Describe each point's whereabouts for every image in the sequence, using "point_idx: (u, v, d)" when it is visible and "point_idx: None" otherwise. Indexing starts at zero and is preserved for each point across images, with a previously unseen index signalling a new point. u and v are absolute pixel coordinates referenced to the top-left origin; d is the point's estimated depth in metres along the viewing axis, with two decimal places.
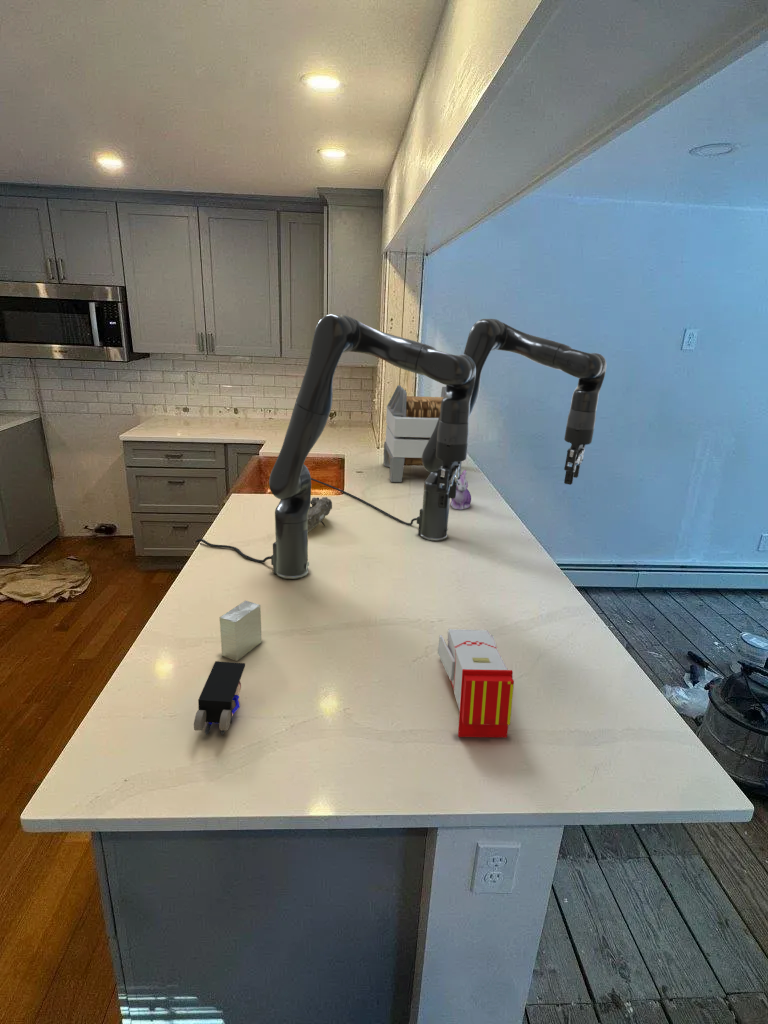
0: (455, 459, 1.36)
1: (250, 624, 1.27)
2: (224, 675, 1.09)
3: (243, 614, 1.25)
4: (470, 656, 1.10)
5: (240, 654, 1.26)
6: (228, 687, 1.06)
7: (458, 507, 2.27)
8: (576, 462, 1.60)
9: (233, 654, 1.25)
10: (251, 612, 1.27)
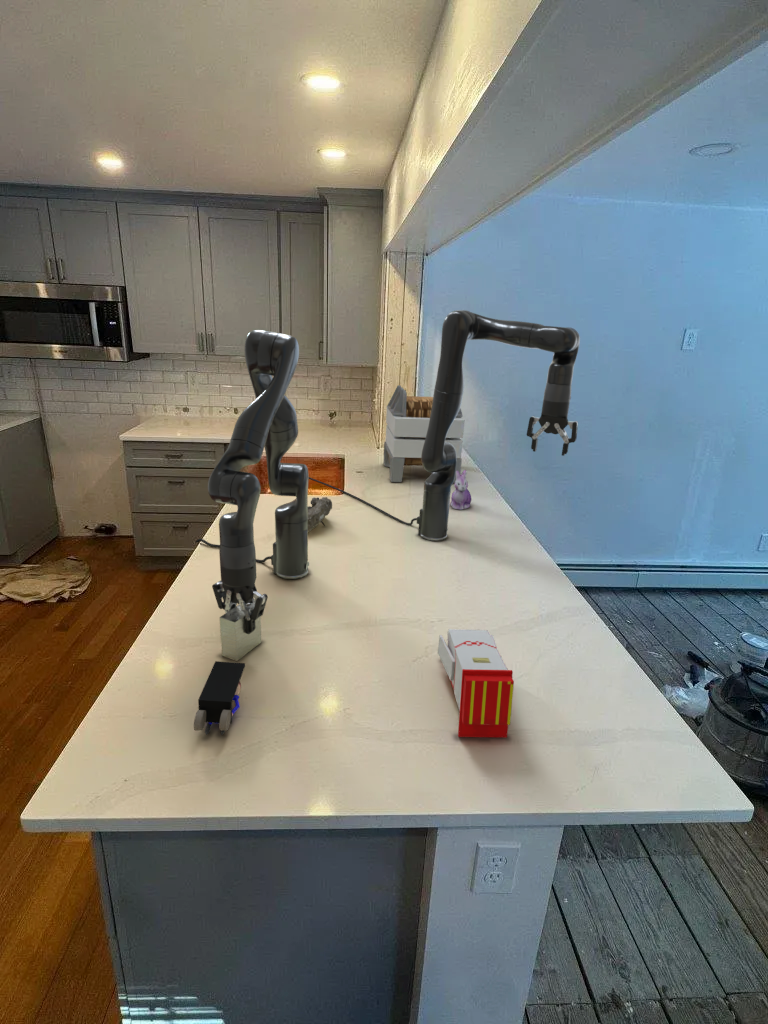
0: None
1: None
2: (224, 675, 1.09)
3: (243, 614, 1.25)
4: (470, 656, 1.10)
5: (240, 654, 1.26)
6: (228, 687, 1.06)
7: (458, 507, 2.27)
8: (565, 432, 1.68)
9: (233, 654, 1.25)
10: None
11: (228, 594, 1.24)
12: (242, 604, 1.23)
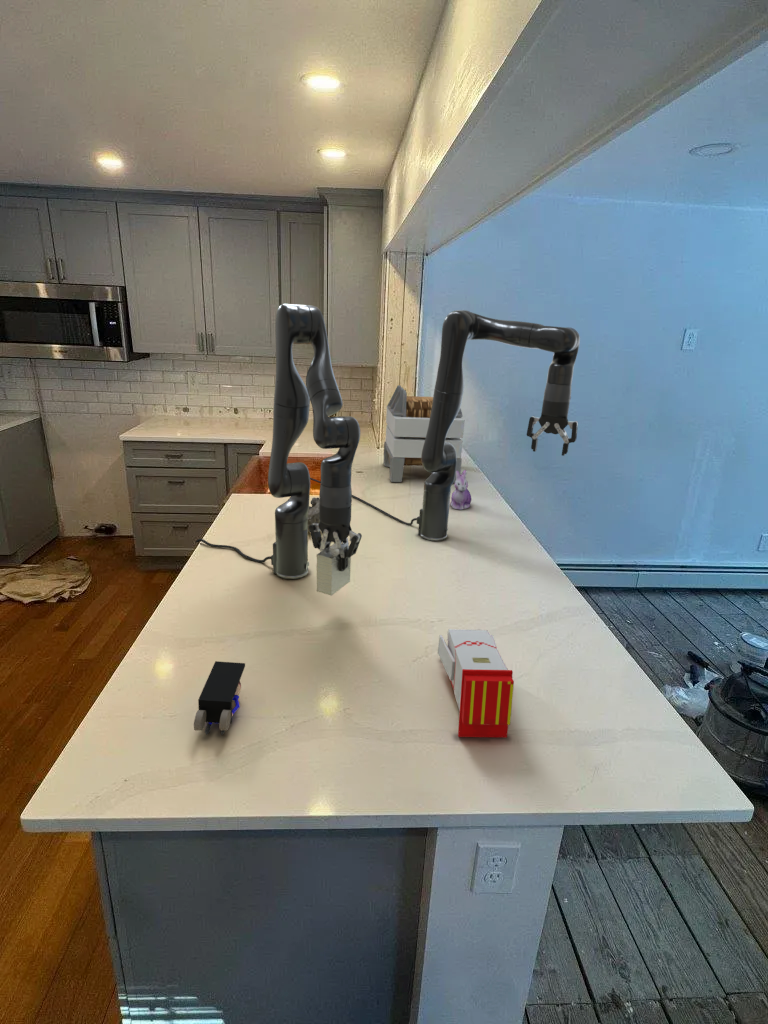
0: None
1: None
2: (224, 675, 1.09)
3: (337, 552, 1.36)
4: (470, 656, 1.10)
5: (334, 590, 1.36)
6: (228, 687, 1.06)
7: (458, 507, 2.27)
8: (565, 432, 1.68)
9: (328, 589, 1.36)
10: None
11: (325, 533, 1.34)
12: (338, 542, 1.34)
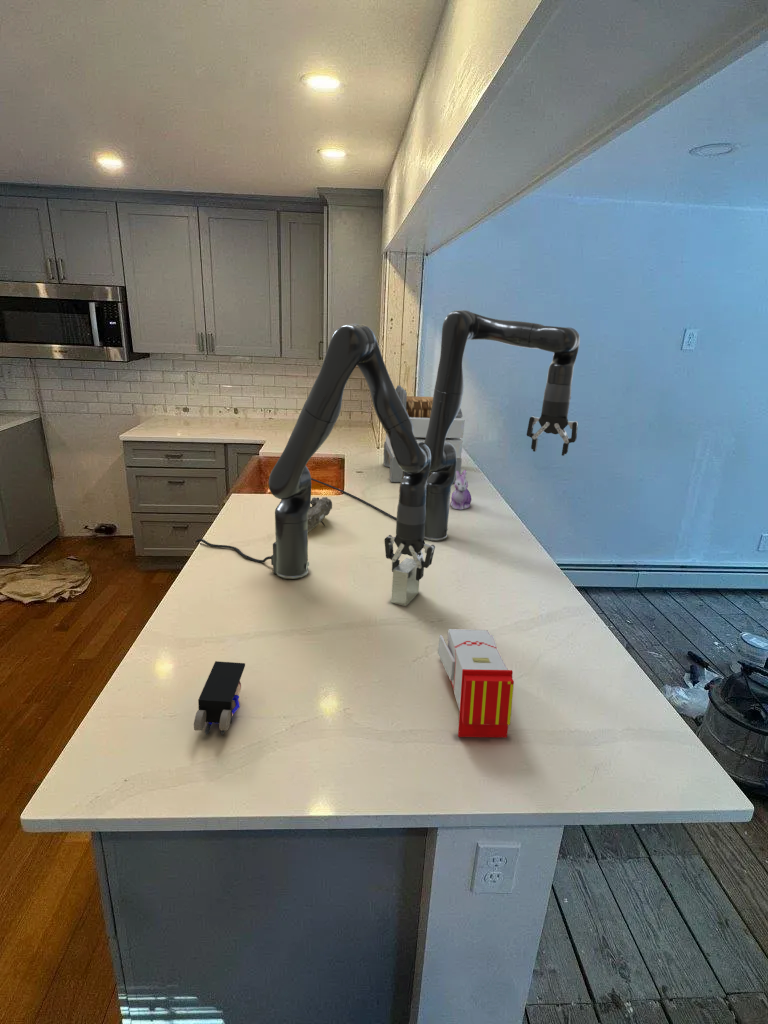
0: None
1: (414, 576, 1.54)
2: (224, 675, 1.09)
3: (411, 567, 1.51)
4: (470, 656, 1.10)
5: (407, 601, 1.52)
6: (228, 687, 1.06)
7: (458, 507, 2.27)
8: (565, 432, 1.68)
9: (402, 600, 1.51)
10: (416, 566, 1.53)
11: (401, 547, 1.50)
12: (413, 555, 1.49)
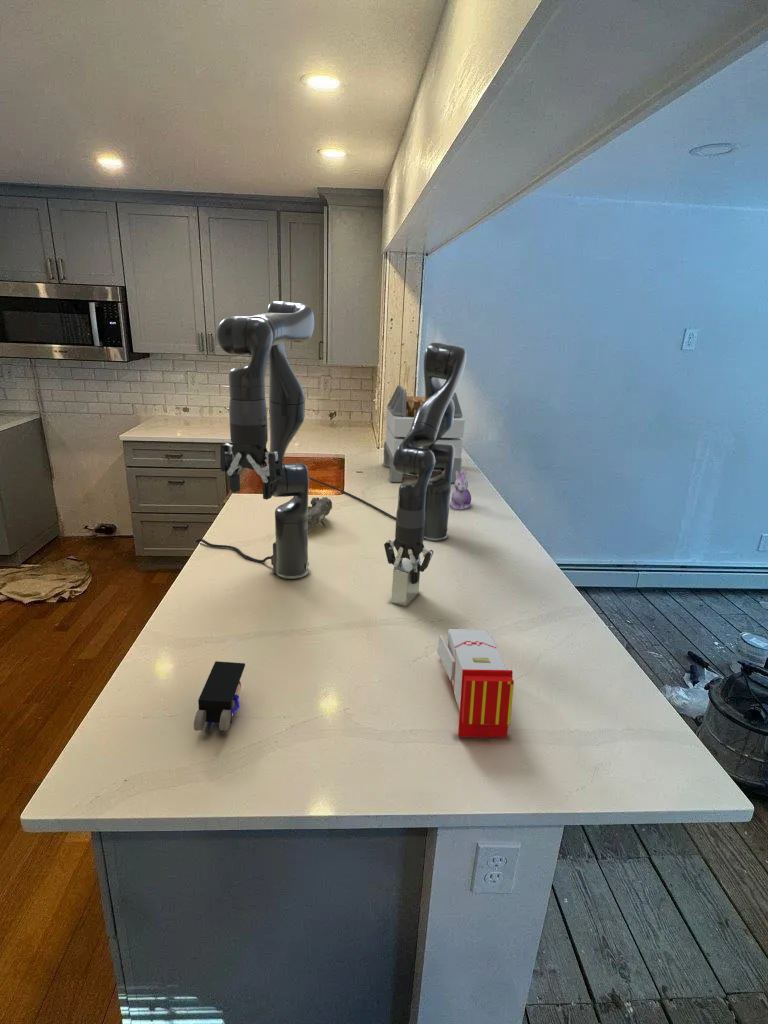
0: (267, 439, 1.18)
1: None
2: (224, 675, 1.09)
3: (411, 567, 1.51)
4: (470, 656, 1.10)
5: (407, 601, 1.52)
6: (228, 687, 1.06)
7: (458, 507, 2.27)
8: (419, 559, 1.52)
9: (402, 600, 1.51)
10: None
11: (238, 457, 1.18)
12: (253, 467, 1.17)
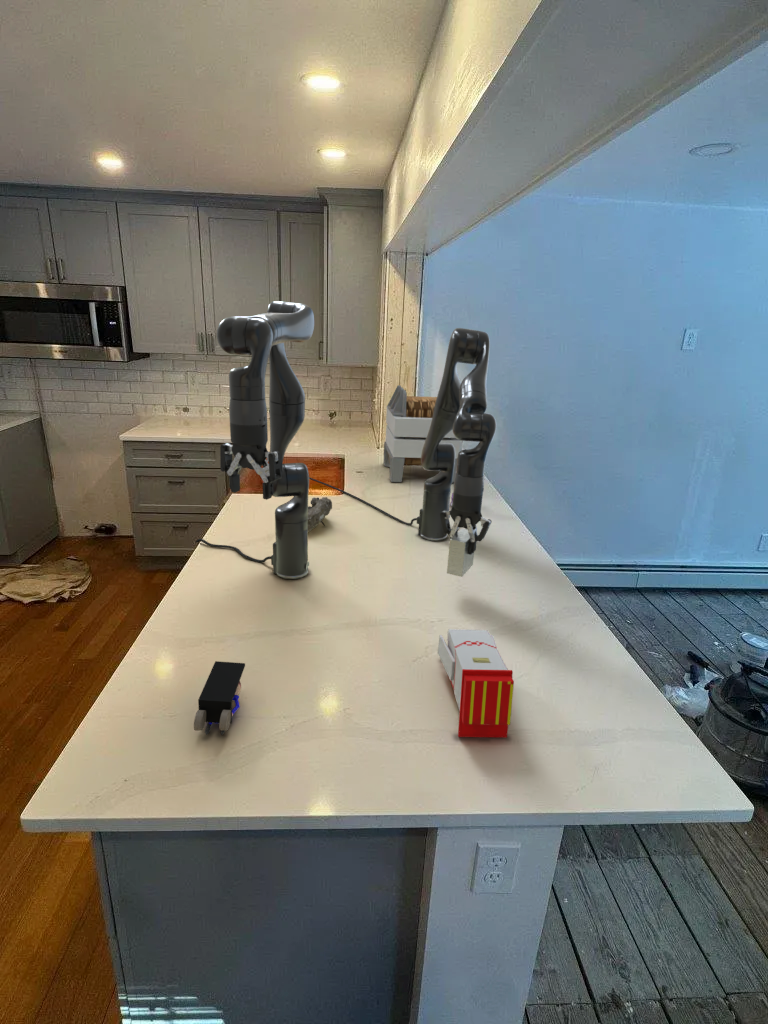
0: (267, 439, 1.18)
1: None
2: (224, 675, 1.09)
3: (467, 537, 1.48)
4: (470, 656, 1.10)
5: (464, 571, 1.49)
6: (228, 687, 1.06)
7: None
8: (476, 529, 1.49)
9: (459, 571, 1.48)
10: None
11: (238, 457, 1.18)
12: (253, 467, 1.17)
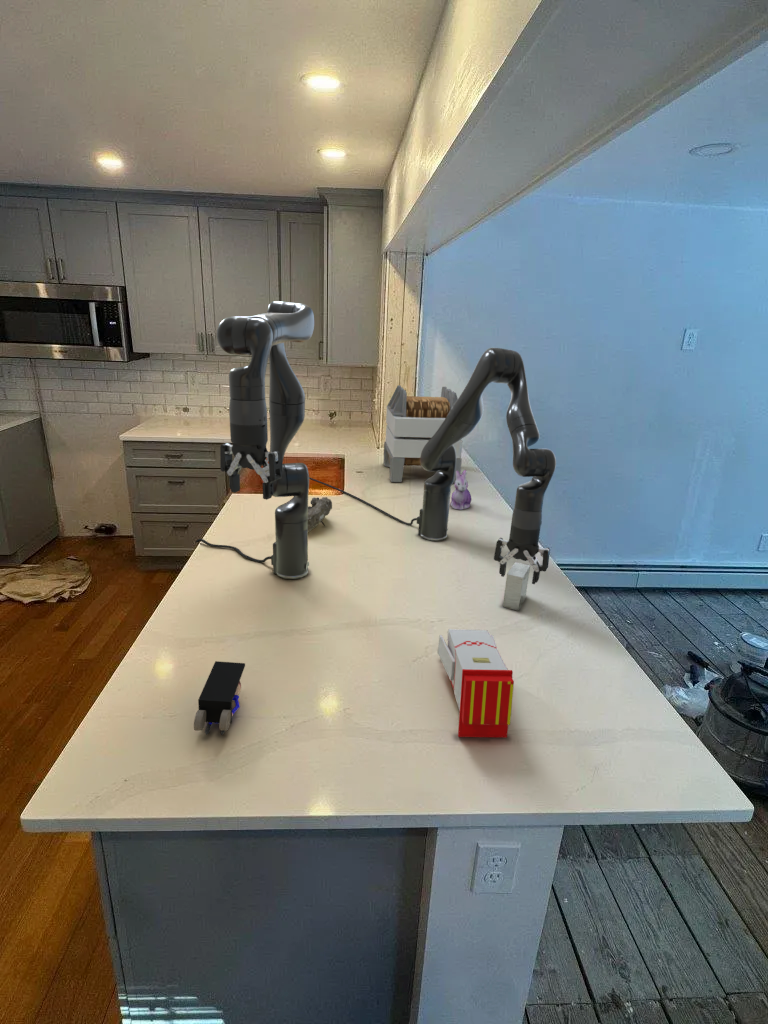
0: (267, 439, 1.18)
1: (525, 580, 1.54)
2: (224, 675, 1.09)
3: (523, 572, 1.52)
4: (470, 656, 1.10)
5: (519, 605, 1.53)
6: (228, 687, 1.06)
7: (458, 507, 2.27)
8: (536, 558, 1.51)
9: (515, 605, 1.52)
10: (527, 571, 1.53)
11: (238, 457, 1.18)
12: (253, 467, 1.17)
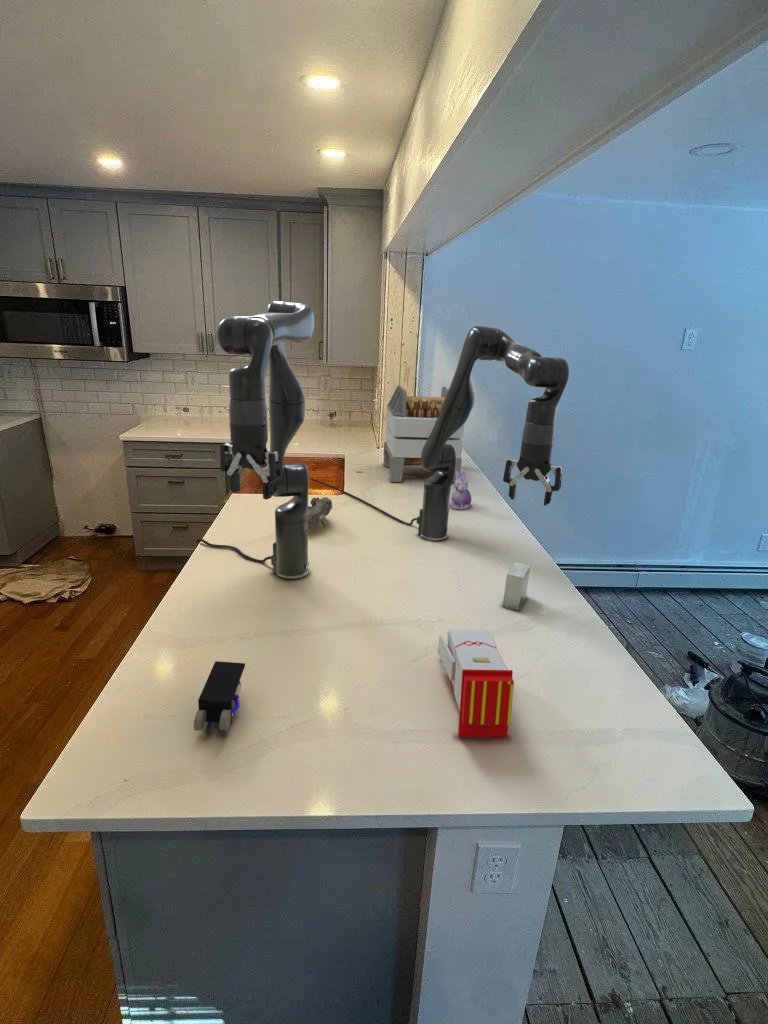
0: (267, 439, 1.18)
1: (525, 580, 1.54)
2: (224, 675, 1.09)
3: (523, 572, 1.52)
4: (470, 656, 1.10)
5: (519, 605, 1.53)
6: (228, 687, 1.06)
7: (458, 507, 2.27)
8: (548, 479, 1.44)
9: (515, 605, 1.52)
10: (527, 571, 1.53)
11: (238, 457, 1.18)
12: (253, 467, 1.17)
